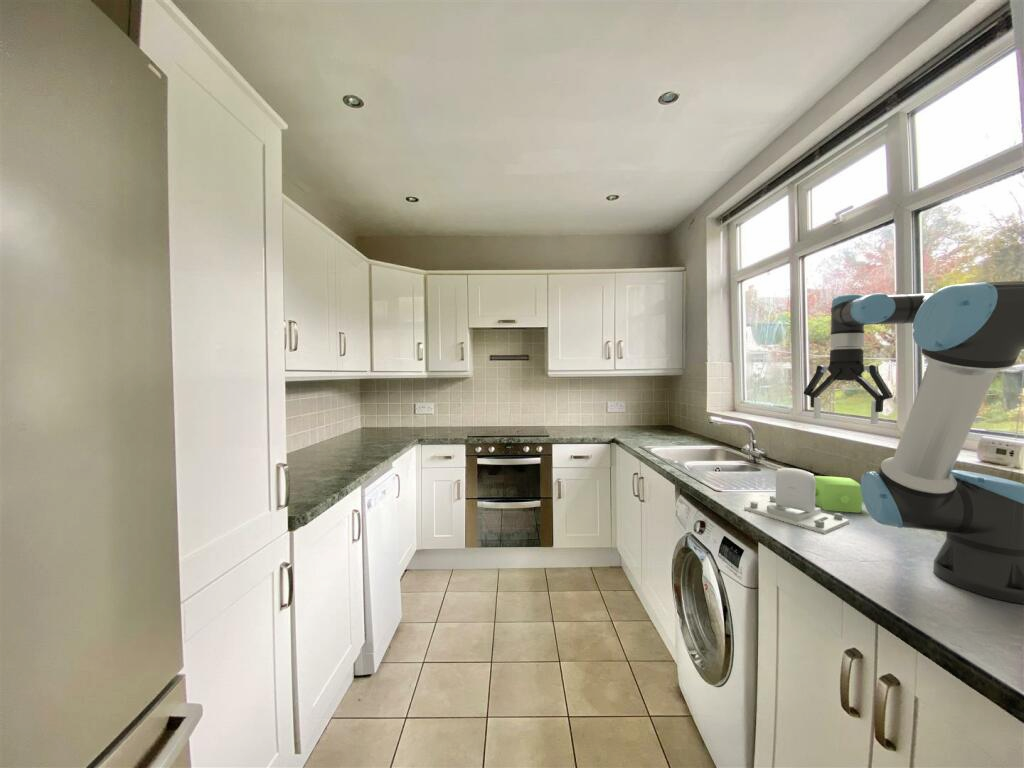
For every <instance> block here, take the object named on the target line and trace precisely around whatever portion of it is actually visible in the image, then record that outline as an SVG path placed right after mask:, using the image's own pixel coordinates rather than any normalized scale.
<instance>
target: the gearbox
mask: <svg viewBox="0 0 1024 768" xmlns="http://www.w3.org/2000/svg"><path fill="white" fill-rule="evenodd" d="M814 476H815V506H816V505H817V507H818V508H821V510H825V511H834V512H842V511H843V513H862V510H863V509H862V508H863V503H864V502H863V498H862V494H861V483H859V482H857V481H856V480H854V479H852V478H850V477H840V476H829V475H828V476H826V475H825V476H822V475H814Z"/></svg>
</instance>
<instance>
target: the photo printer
mask: <svg viewBox="0 0 1024 768" xmlns="http://www.w3.org/2000/svg"><path fill="white" fill-rule="evenodd" d="M815 476H816V475H815V474H814V473H811V472H809V471H806V470H804V469H800V468H794V467H783V468H777V469H776V474H775V497H776V505H779V506H784V507H788V508H792V509H797V510H802V511H806V512H810V513H813V512H815V507H816V504H815Z"/></svg>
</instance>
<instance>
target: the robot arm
mask: <svg viewBox="0 0 1024 768" xmlns="http://www.w3.org/2000/svg"><path fill="white" fill-rule="evenodd" d="M831 301H832V302H831V308H830V314H831V315H830V341H829V348H830V349H831V350H830V351H829V365H828V366H825V365H817V366H816V368H815V369H816V370H815V373H814V374H813V376H812V378H811V379H810V381H809V383H808V385H807V386H806V388H805V389H804V391H803V395H804V396H808V397H809V398H810V407H811V408H813V419H814V420H818V419H821V412H822V407H821V406H822V397H819V396H820V395H821V394H822V393H823V392H824V391H825V390H826V389H828V388H829V387H830V386H831V385H832V384H833V383H834V382H836V381H849V382H850V381H853V382H854V381H855V382H857V383H858V384H859V385H861V387H862V388H863V390H864V389H865V391H866V392H868V394H869V395H870V396H871V397H872V398H873V399H874V400H871V402H870V403H871V404H870V405H871V406H870V425H875V424H877V425H878V424H879V413H883V411H884V401H885V400H889V399H892V398H893V397H894V396H893V393H892V392H891V390H890V389H889V387H888V385H887V384H886V382H885V381H884V379H883V378H882V377H883V376H882V375H881V374H880V373H879V366H878V365H876V364H870V365H865V364H864V356H865V355H864V354H865V353H864V351H865V350H863V349H862V348H864V346H865V326H867V325H898V324H899V325H901V324H912V329H913V330H914V331H913V332H912V336H913V340H914V343H915V344H916V345H917V346H918V347H919V348H921V350H920V353H921V355H922V356H923V357H924V358H925V359H926V360H927V361H928V363H927V365H926V368H925V371H924V374H923V377H922V380H921V382H920V384H919V387H918V390H917V393H916V395H915V398H914V400H913V404H912V406H911V409H910V412H909V415H908V417H907V420H906V422H905V426H904V428H903V431H902V433H901V437H900V439H899V441H898V445H897V447H896V450H895V453H894V455H893V456H892V457H888V458H886V459H884V460H883V461H881V464H880V466H879V468H878V471H873V470H871V471H867V472H864V473H863V474H862V476H861V479H860V485H861V494H862V498H863V502H862V503H863V504H864V506H865V509H866V511H867V512H868V514H869V516H870V517H871V518H872V519H873V520H874V521H875V522H877V523H878V524H881V525H883V526H890V527H897V528H899V529H902V528H904V529H916V530H924V531H925V530H926V531H934V532H946V536H945V537H946V538H945V540H944V542H943V544H942V545H941V547H940V549H939V551H938V552H937V554H936V556H935V557H934V560H933V567H932V569H933V573H934V574H935V575H936V576H937V577H939V578H940V579H941V580H944V581H945V582H947V583H949V584H951V585H954V586H956V587H958V588H960V589H964V590H966V591H969V592H971V593H972V592H973V593H974V594H978V595H982V596H985V597H989V598H992V599H996V600H999V601H1005V602H1010V603H1015V604H1023V605H1024V483H1021V482H1018V481H1015V480H1012V479H1011V480H1010V479H1007V478H1002V477H999V476H998V477H997V476H994V475H990V474H984V473H979V472H973V471H968V470H967V471H966V470H962V469H953V468H954V466H955V464H956V461H957V460H958V457H959V455H960V454H961V451H962V449H963V447H964V444H965V442H966V440H967V438H968V435H969V434H970V431H971V429H972V427H973V424H974V423H975V421H976V419H977V416H978V413H979V411H980V409H981V407H982V404H983V403H984V401H985V398H986V396H987V394H988V392H989V389H990V388H991V385H992V383H993V380H994V378H995V376H996V375H997V373H998V372H1000V371H1003V370H1007V369H1009V368H1012V367H1013V366H1014V365H1015V364H1016V361H1017V359H1018V358H1019V357H1020V354H1021V352H1022V350H1023V351H1024V280H1013V281H1010V280H1009V281H985V282H983V281H975V282H968V283H962V284H952V285H948V286H944V287H942V288H940V289H938V290H937V291H936V292H933V293H932V292H931V293H915V294H891V295H889V294H888V295H887V294H885V293H872V294H871V293H869V294H865V295H864V294H860V293H854V294H852V293H851V294H843V295H838V296H835V297H834V298H832V300H831ZM827 371H828V372H829V376H828V377H826V379H825V380H824V381H822V383H820V384H819V382H820V380H821V379H822V378H823V376H824V374H825V373H827ZM865 371H866V373H868V374H870V377H871V379H872V380H873V381H874V383H875V385H876V387H877V389H878V390H879V391H878V390H877V389H876V388H875V387H874V386H873V385H872V384H871V383H870V382H869V381H868V380H867V379H866V377H865V376H863V375H862V374H863V373H864V372H865ZM818 384H819V385H818ZM817 386H818V387H817Z"/></svg>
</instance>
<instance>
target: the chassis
mask: <svg viewBox="0 0 1024 768" xmlns="http://www.w3.org/2000/svg"><path fill="white" fill-rule="evenodd" d="M743 510H745V511H747V512H750V511H751V513H754V514H758V515H760V514H761V515H760V516H763V515H764V516H763V517H767V518H770V517H771V519H773V518H774V520H777V519H778V521H780V520H781V522H783V521H784V523H787V522H788V523H787V524H790V523H791V524H790V525H793V524H794V526H797V525H798V526H797V527H800V526H801V528H803V527H804V529H808V530H810V531H813V530H814V532H817V533H821V534H824V535H826V534H828V533H830V532H833V531H835V530H837V529H839V528H841V527H844V526H846V525H849V524H850V519H848V518H843V514H842V513H840V512H834V513H833V515H832V514H829V513H824V512H822V508H820V507H819V506H817V507H816V506H815V512H813V513H810V512H806V511H802V510H797V509H792V508H788V507H784V506H779V505H776V496H769V498H767V499H765V500H763V501H759V502H755V501H751V502H750V504H749V505H745V506H744V508H743Z"/></svg>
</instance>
